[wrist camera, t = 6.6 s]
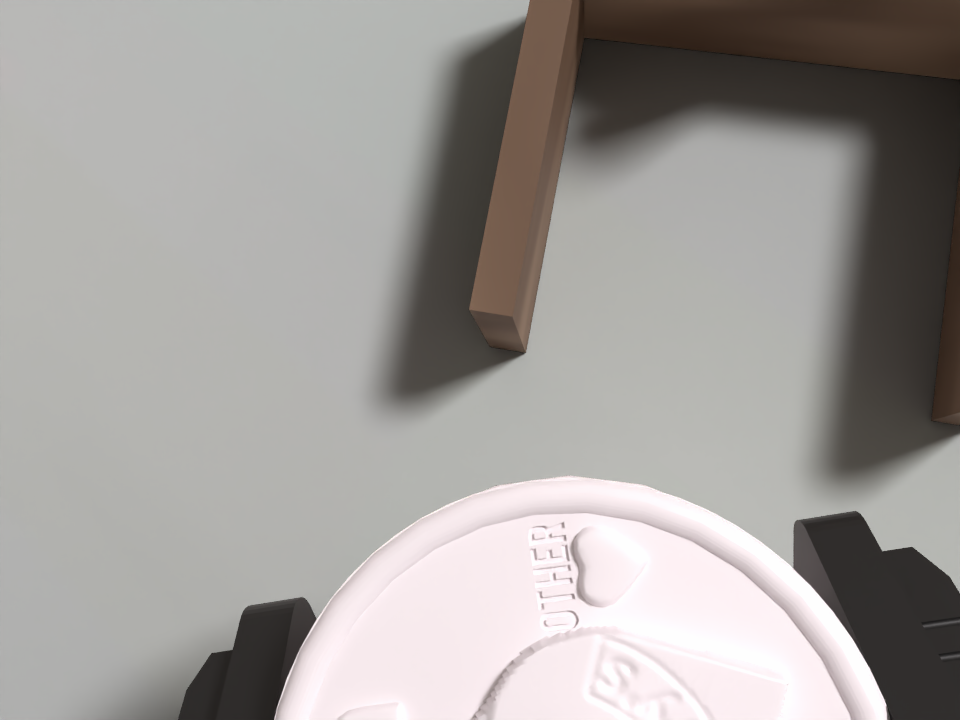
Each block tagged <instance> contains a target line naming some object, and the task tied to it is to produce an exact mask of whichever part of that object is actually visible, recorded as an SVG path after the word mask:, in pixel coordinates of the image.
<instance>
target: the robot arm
mask: <svg viewBox="0 0 960 720" xmlns="http://www.w3.org/2000/svg"><path fill="white" fill-rule="evenodd" d="M794 570H795V571H796V572H797V573H798V574H799V575H800V576H801V577H802V578H803V579H804V580H805V581H806V582H807V583H808V584H809V585H811V587H812V588H813V589H814V590H815V591H816V592H817V594H818V595H819V596H820V597H821V598H822V599H823V601H824V602H825V603H826V604H827V605H828V606H829V608H830V609H831V610H832V611H833V612H834V614H835V615H836V617H837V618H838V619H839V621H840V622H841V624H842V625H843V626H844V628H845V629H846V631H847V632H848V633H849V635H850V636H851V638H852V639H853V641H854V642H855V644H856V646H857V648H858V649H859V651H860V653H861V654H862V656H863V658H864V660H865V661H866V663H867V665H868V666H869V668H870V670H871V672H872V674H873V676H874V679H875V681H876V683H877V685H878V687H879V689H880V691H881V694H882V696H883V698H884V700H885V703H886V705H887V708H888V712H889V716H890V720H960V593H959V591H958V590H957V588H956V586H955V585H954V583H953V582H952V580H951V578H950V577H949V576H948V575H947V574H945V573H944V572H943V571H942V570H940V569H939V568H938V567H937V566H935V565H934V564H933V563H932V562H930V561H929V560H928V559H927V558H925V557H924V556H923V555H922V554H920V553H919V552H918V551H917V550H915V549H914V548H913V547H908V548H902V549H895V550H889V551H882V550H881V548H880V547H879V545H878V543H877V541H876V539H875V537H874V536H873V534H872V532H871V530H870V528H869V526H868V525H867V523H866V521H865V520H864V518H863V517H862V515H861V514H860V513H858V512H856V511H853V512H846V513H840V514H834V515H827V516H821V517H815V518H808V519H802V520H797V521H796V522H795V524H794ZM316 620H317V619H316V617H315V615H314V613H313V611H312V609H311V606H310V605H309V603H308V601H307V600H306V599H305V598H303V597H300V598H294V599H288V600H282V601H275V602H269V603H263V604H257V605H250V606H248V607H246V608H245V610H244V611H243V613H242V616H241V619H240V623H239V627H238V631H237V635H236V639H235V643H234V647H233V650H230V651H223V652H217V653H211V655H210V656H209V658H208V659H207V661H206V662H205V664H204V665H203V667H202V668H201V670H200V671H199V673H198V674H197V676H196V677H195V678H194V680H193V681H192V683H191V684H190V686H189V687H188V689H187V690H186V694H185V697H184V701H183V704H182V708H181V711H180V715H179V718H178V720H274V718H275V714H276V710H277V706H278V703H279V700H280V697H281V694H282V691H283V688H284V686H285V683H286V680H287V677H288V675H289V672H290V670H291V668H292V666H293V663H294V661H295V659H296V657H297V654H298V652H299V650H300V648H301V646H302V644H303V642H304V641H305V639H306V637H307V635H308V634H309V632H310V630H311V628H312V626H313V625H314V623H315V621H316Z"/></svg>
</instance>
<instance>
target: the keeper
mask: <svg viewBox="0 0 960 720" xmlns="http://www.w3.org/2000/svg"><path fill="white" fill-rule="evenodd" d="M584 38H592V39H601V40H610V41H619V42H627V43H636V44H645V45H654V46H663V47H672V48H681V49H690V50H699V51H708V52H717V53H726V54H735V55H744V56H753V57H762V58H771V59H779V60H788V61H797V62H806V63H815V64H824V65H833V66H842V67H851V68H860V69H869V70H878V71H887V72H896V73H905V74H914V75H923V76H932V77H940V78H949V79H958V80H960V0H530V3H529V8H528V13H527V18H526V23H525V28H524V33H523V38H522V43H521V48H520V53H519V58H518V63H517V69H516V74H515V79H514V84H513V89H512V94H511V99H510V104H509V109H508V114H507V119H506V124H505V129H504V134H503V139H502V145H501V150H500V155H499V160H498V165H497V170H496V175H495V180H494V185H493V190H492V195H491V200H490V205H489V210H488V216H487V221H486V226H485V231H484V236H483V241H482V246H481V251H480V256H479V261H478V266H477V271H476V276H475V281H474V286H473V292H472V297H471V302H470V307H469V311H470V312H471V314H472V316H473V318H474V320H475V321H476V323H477V325H478V327H479V328H480V330H481V332H482V334H483V335H484V337H485V339H486V341H487V343H488V344H489V346H490V347H494V348H500V349H506V350H512V351H518V352H524V353H526V349H527V344H528V338H529V333H530V327H531V322H532V317H533V311H534V306H535V300H536V295H537V290H538V284H539V279H540V274H541V268H542V263H543V257H544V252H545V247H546V241H547V236H548V230H549V225H550V220H551V214H552V209H553V203H554V198H555V193H556V187H557V182H558V177H559V171H560V166H561V160H562V155H563V150H564V144H565V139H566V133H567V128H568V123H569V117H570V112H571V106H572V101H573V96H574V90H575V85H576V80H577V74H578V69H579V63H580V58H581V53H582V47H583V42H584ZM931 421H937V422H943V423H949V424H955V425H960V169H959V178H958V187H957V196H956V205H955V214H954V223H953V232H952V241H951V250H950V259H949V268H948V277H947V286H946V295H945V303H944V312H943V321H942V330H941V339H940V348H939V357H938V366H937V375H936V384H935V393H934V402H933V411H932V420H931Z"/></svg>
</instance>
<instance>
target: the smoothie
mask: <svg viewBox="0 0 960 720" xmlns="http://www.w3.org/2000/svg"><path fill="white" fill-rule="evenodd" d="M274 720H890V716H889V712H888V708H887V705H886V703H885V700H884V698H883V696H882V694H881V691H880V689H879V687H878V685H877V683H876V681H875V679H874V676H873V674H872V672H871V670H870V668H869V666H868V665H867V663H866V661H865V660H864V658H863V656H862V654H861V653H860V651H859V649H858V648H857V646H856V644H855V642H854V641H853V639H852V638H851V636H850V635H849V633H848V632H847V631H846V629H845V628H844V626H843V625H842V624H841V622H840V621H839V619H838V618H837V617H836V615H835V614H834V612H833V611H832V610H831V609H830V608H829V606H828V605H827V604H826V603H825V602H824V601H823V599H822V598H821V597H820V596H819V595H818V594H817V592H816V591H815V590H814V589H813V588H812V587H811V585H809V584H808V583H807V582H806V581H805V580H804V579H803V578H802V577H801V576H800V575H799V574H798V573H797V572H796V571H795V570H794V569H793V568H792V567H791V566H790V565H789V564H788V563H787V562H785V561H784V560H783V559H782V558H781V557H779V556H778V555H777V554H776V553H774V552H773V551H772V550H771V549H769V548H768V547H767V546H766V545H764V544H763V543H762V542H760V541H759V540H757V539H756V538H754V537H753V536H751V535H750V534H748V533H747V532H745V531H744V530H742V529H741V528H739V527H738V526H736V525H735V524H733V523H731V522H729V521H727V520H725V519H724V518H722V517H720V516H719V515H717V514H715V513H713V512H711V511H709V510H707V509H704V508H702V507H700V506H697V505H695V504H693V503H690V502H688V501H685V500H683V499H681V498H678V497H675V496H672V495H669V494H666V493H663V492H661V491H658V490H656V489H653V488H651V487H648V486H646V485H641V484H633V483H625V482H617V481H609V480H601V479H593V478H586V477H578V476H570V475H569V476H562V477H554V478H547V479H540V480H532V481H525V482H518V483H511V484H503V485H496V486H494V487H491V488H489V489H487V490H484V491H482V492H480V493H476V494H473V495H470V496H468V497H465V498H463V499H460V500H458V501H455V502H453V503H451V504H448V505H446V506H444V507H442V508H440V509H438V510H436V511H434V512H432V513H430V514H428V515H427V516H425V517H423V518H421V519H419V520H418V521H416V522H415V523H413V524H411V525H410V526H408V527H407V528H405V529H404V530H402V531H401V532H399V533H398V534H396V535H395V536H394V537H392V538H391V539H390V540H389V541H387V542H386V543H385V544H384V545H382V546H381V547H380V548H379V549H378V550H376V551H375V552H374V553H373V554H371V555H370V556H369V557H368V558H367V559H366V560H365V561H364V562H363V563H362V564H361V565H360V566H359V567H358V568H357V569H356V570H355V571H354V572H353V573H352V574H351V575H350V576H349V578H348V579H347V580H346V581H345V582H344V584H343V585H342V586H341V587H340V588H339V590H338V591H337V592H336V593H335V594H334V596H333V597H332V598H331V599H330V601H329V602H328V604H327V605H326V607H325V608H324V610H323V611H322V613H321V614H320V615H319V617H318V618H317V620H316V621H315V623H314V625H313V626H312V628H311V630H310V632H309V634H308V635H307V637H306V639H305V641H304V642H303V644H302V646H301V648H300V650H299V652H298V654H297V657H296V659H295V661H294V663H293V666H292V668H291V670H290V672H289V675H288V677H287V680H286V683H285V686H284V688H283V691H282V694H281V697H280V700H279V703H278V706H277V710H276V714H275V718H274Z"/></svg>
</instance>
